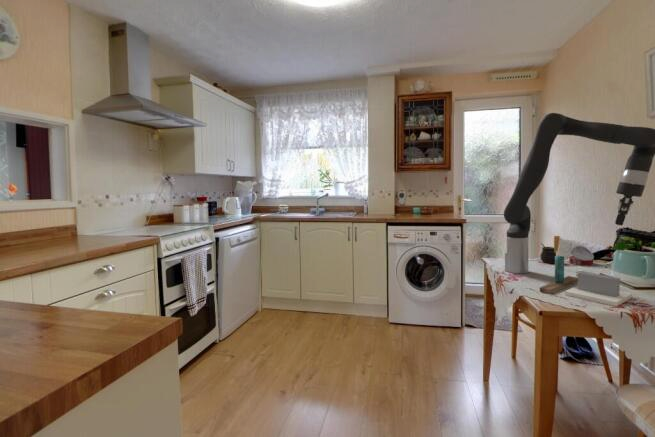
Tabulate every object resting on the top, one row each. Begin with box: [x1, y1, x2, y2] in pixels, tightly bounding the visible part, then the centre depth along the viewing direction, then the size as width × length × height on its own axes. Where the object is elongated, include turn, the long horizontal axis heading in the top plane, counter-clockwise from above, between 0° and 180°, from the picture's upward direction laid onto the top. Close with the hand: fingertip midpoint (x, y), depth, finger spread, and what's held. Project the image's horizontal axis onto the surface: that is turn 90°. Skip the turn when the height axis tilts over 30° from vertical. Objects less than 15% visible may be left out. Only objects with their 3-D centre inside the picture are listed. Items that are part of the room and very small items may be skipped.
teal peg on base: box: [539, 255, 578, 295], centre depth 140 cm, size 4×24×13 cm, turn 122°
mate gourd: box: [539, 242, 557, 264], centre depth 178 cm, size 7×8×10 cm
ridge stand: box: [564, 271, 633, 307], centre depth 127 cm, size 16×14×8 cm
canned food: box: [568, 245, 595, 267], centre depth 172 cm, size 11×10×10 cm
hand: (618, 224), depth 131 cm, fingers open, 8 cm apart
